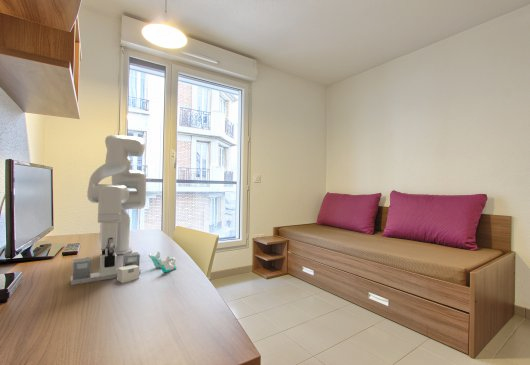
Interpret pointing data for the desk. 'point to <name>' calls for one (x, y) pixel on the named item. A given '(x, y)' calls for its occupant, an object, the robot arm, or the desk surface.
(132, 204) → the robot arm
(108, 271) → the block
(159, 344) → the desk surface
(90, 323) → the desk surface
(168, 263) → the jawbone
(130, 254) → the rail
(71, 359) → the desk surface
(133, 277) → the block
